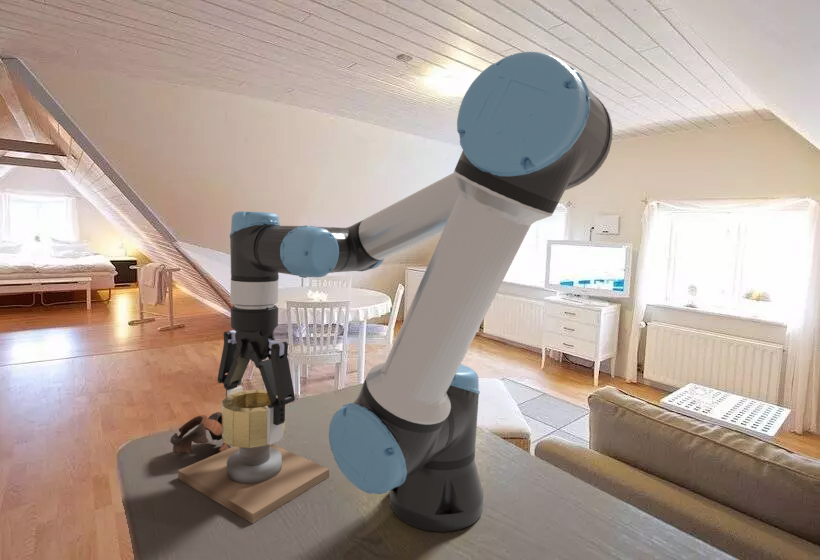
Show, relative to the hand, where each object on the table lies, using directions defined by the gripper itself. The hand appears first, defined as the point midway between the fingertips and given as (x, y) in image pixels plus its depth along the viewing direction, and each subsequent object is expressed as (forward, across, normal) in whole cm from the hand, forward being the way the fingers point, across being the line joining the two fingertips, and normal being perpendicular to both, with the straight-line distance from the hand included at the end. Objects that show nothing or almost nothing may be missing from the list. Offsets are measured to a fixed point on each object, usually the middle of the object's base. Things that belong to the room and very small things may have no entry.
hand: (254, 432), depth 78 cm
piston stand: (+8, 0, 0) cm, 8 cm away
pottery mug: (+9, +15, 0) cm, 17 cm away
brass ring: (0, 0, 0) cm, 0 cm away
